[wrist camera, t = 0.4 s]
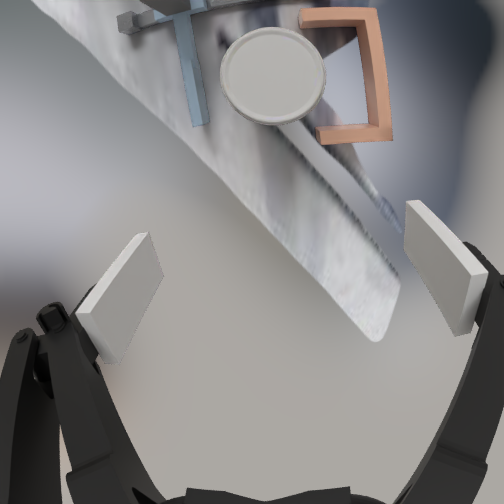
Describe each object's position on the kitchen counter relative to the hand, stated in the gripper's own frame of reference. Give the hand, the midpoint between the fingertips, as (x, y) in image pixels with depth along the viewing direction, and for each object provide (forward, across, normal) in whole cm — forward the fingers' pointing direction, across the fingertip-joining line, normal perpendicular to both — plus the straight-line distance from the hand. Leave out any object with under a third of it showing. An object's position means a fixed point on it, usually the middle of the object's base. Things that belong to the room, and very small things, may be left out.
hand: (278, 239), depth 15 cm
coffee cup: (+26, +1, +8) cm, 28 cm away
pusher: (+26, -8, +13) cm, 30 cm away
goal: (+26, +9, +8) cm, 29 cm away
